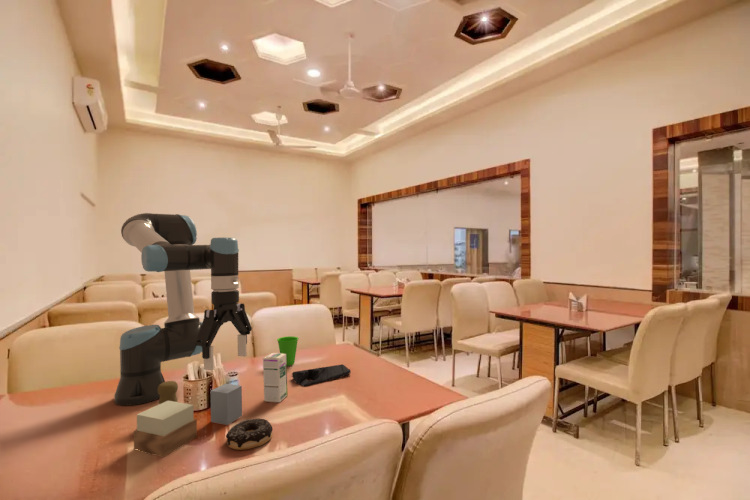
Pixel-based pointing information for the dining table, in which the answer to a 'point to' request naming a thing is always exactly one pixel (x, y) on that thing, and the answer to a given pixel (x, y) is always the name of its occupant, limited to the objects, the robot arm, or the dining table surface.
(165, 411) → the tower top
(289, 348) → the cup
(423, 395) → the dining table surface
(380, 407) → the dining table surface
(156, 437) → the tower base
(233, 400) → the gray block
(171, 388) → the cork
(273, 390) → the syrup box
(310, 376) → the dark slate chunk
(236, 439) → the donut
